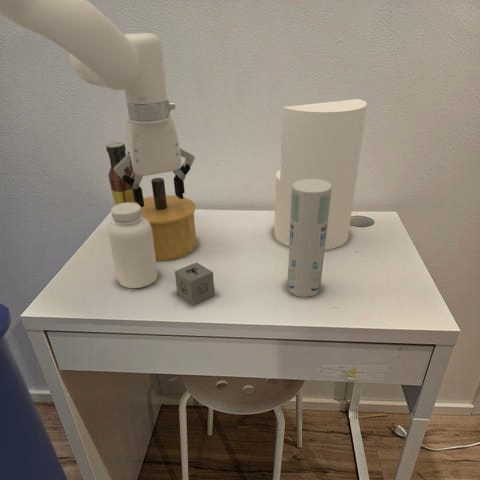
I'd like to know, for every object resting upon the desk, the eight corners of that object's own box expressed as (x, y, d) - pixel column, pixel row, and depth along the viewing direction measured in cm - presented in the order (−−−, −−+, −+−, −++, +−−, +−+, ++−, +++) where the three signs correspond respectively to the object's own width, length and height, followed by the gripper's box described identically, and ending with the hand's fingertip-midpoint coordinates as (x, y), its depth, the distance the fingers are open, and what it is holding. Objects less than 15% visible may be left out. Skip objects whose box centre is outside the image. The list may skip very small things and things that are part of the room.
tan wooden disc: (139, 232, 86) (133, 197, 82) (119, 208, 97) (113, 175, 92) (206, 217, 92) (204, 184, 87) (181, 195, 102) (177, 164, 98)
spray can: (319, 299, 80) (330, 193, 68) (284, 295, 82) (289, 190, 70) (322, 281, 85) (333, 179, 73) (289, 277, 87) (294, 177, 75)
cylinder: (363, 241, 99) (385, 106, 82) (295, 256, 93) (305, 115, 77) (323, 214, 111) (335, 92, 95) (262, 226, 106) (263, 99, 90)
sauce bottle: (147, 222, 109) (134, 139, 98) (144, 233, 104) (130, 147, 93) (121, 223, 109) (104, 140, 97) (117, 234, 104) (99, 148, 92)
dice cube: (198, 284, 85) (196, 262, 82) (214, 295, 82) (212, 272, 79) (177, 294, 83) (174, 271, 80) (192, 305, 79) (190, 281, 76)
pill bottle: (137, 294, 83) (123, 220, 74) (109, 281, 87) (93, 209, 78) (166, 276, 88) (157, 205, 79) (139, 265, 92) (127, 196, 83)
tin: (146, 266, 91) (140, 228, 86) (128, 240, 101) (122, 205, 96) (205, 251, 96) (203, 214, 91) (183, 228, 106) (179, 194, 101)
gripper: (184, 103, 88) (191, 188, 98) (97, 113, 82) (115, 203, 92) (198, 109, 83) (205, 199, 93) (107, 121, 76) (125, 215, 87)
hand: (160, 200), depth 92 cm, fingers open, 8 cm apart
